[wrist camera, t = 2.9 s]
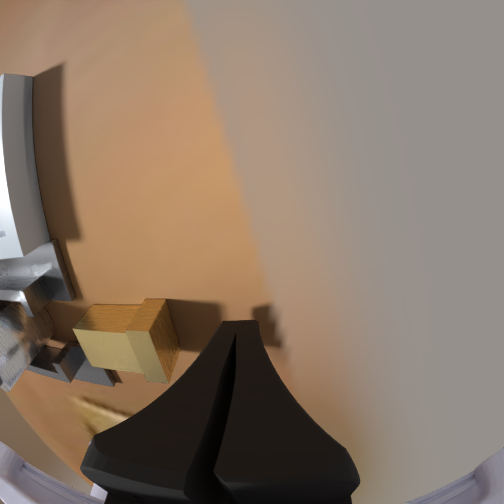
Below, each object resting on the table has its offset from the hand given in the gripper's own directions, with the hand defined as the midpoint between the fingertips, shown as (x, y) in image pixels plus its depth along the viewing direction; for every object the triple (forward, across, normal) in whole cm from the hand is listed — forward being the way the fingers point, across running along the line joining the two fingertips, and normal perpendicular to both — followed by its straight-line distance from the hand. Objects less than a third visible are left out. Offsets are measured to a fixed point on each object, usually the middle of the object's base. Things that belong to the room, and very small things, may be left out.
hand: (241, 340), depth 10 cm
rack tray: (+1, +13, -8) cm, 15 cm away
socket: (+1, +13, 0) cm, 13 cm away
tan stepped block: (+1, +5, 0) cm, 5 cm away
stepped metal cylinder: (+1, +13, 0) cm, 13 cm away
